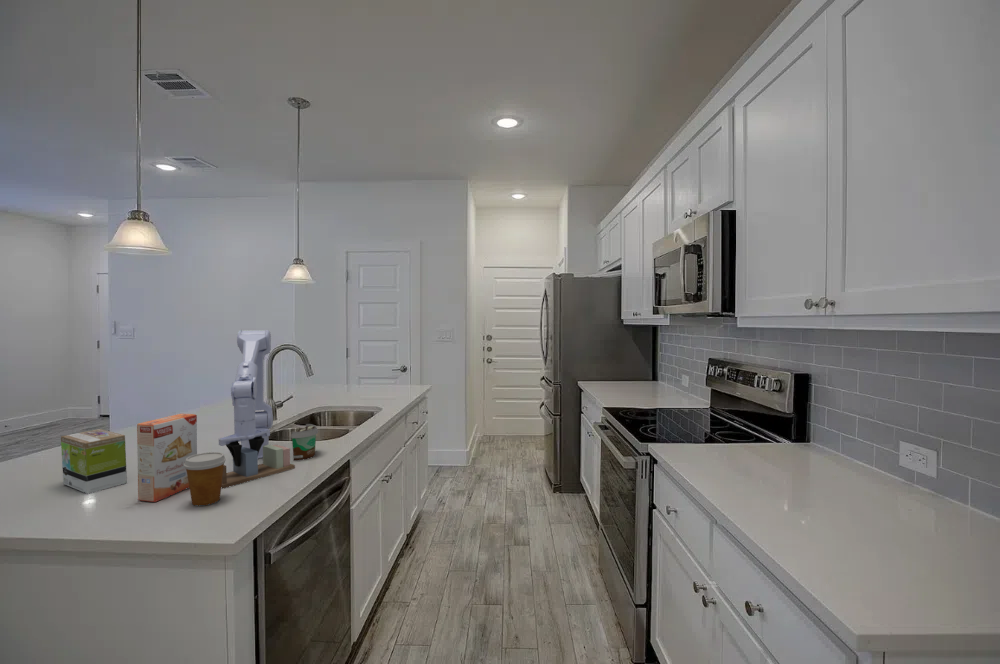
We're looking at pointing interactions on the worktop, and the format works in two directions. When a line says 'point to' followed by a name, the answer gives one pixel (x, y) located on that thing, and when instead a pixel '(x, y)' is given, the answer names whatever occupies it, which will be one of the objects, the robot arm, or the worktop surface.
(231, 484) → the shelf
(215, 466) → the disposable coffee cup
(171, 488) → the cracker box
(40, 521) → the worktop surface
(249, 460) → the grey rectangular block
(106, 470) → the tea box
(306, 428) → the food container
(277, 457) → the book row
